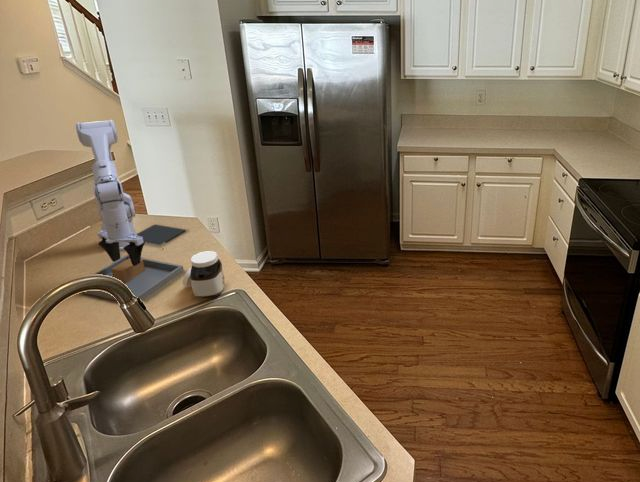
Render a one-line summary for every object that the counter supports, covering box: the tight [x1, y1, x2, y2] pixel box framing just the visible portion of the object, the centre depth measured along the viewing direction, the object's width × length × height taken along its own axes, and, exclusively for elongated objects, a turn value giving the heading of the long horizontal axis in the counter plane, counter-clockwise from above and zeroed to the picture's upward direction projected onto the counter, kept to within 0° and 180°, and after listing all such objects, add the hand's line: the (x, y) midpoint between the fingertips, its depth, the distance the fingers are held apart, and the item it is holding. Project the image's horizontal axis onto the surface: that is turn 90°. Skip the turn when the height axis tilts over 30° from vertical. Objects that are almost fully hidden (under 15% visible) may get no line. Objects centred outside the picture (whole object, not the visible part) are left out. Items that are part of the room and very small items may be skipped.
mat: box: [136, 224, 186, 246], centre depth 156 cm, size 14×12×1 cm
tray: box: [82, 254, 185, 302], centre depth 128 cm, size 22×18×3 cm
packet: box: [111, 258, 145, 283], centre depth 130 cm, size 4×7×4 cm, turn 164°
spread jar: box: [182, 250, 225, 300], centre depth 124 cm, size 12×11×12 cm
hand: (126, 262), depth 129 cm, fingers open, 7 cm apart
